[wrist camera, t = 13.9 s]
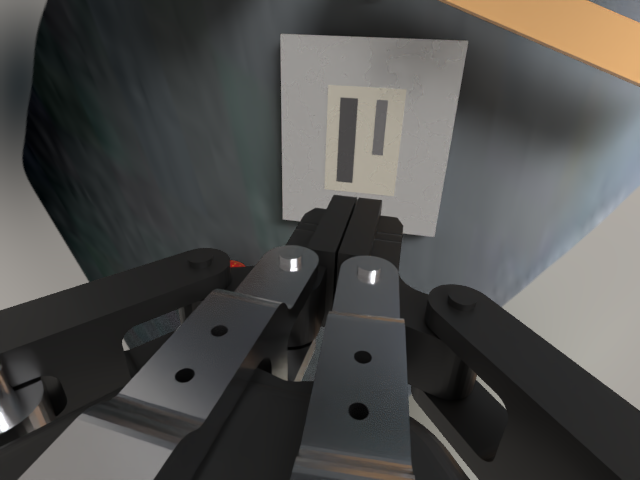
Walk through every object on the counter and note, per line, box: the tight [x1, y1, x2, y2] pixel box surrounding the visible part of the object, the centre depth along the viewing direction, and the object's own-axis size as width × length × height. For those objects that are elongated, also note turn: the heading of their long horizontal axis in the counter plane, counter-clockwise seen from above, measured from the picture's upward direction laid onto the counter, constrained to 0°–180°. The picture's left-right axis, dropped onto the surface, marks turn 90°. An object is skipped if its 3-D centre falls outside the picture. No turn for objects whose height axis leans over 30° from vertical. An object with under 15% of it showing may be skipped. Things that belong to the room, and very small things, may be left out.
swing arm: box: [438, 0, 640, 87], centre depth 29 cm, size 28×4×3 cm, turn 69°
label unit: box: [280, 34, 468, 237], centre depth 40 cm, size 18×16×2 cm
